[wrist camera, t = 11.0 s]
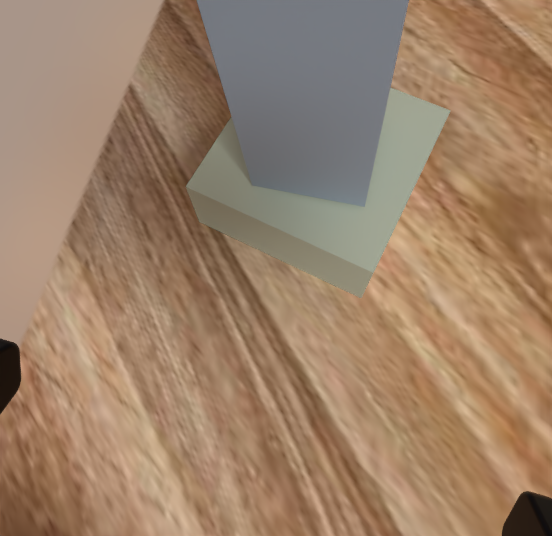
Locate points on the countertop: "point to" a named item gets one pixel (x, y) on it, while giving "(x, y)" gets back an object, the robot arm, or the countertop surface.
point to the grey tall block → (307, 88)
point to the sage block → (321, 200)
